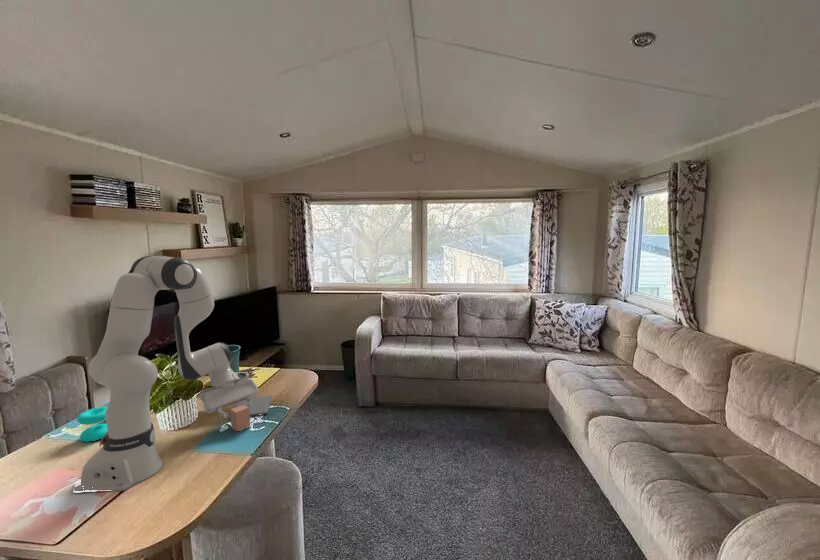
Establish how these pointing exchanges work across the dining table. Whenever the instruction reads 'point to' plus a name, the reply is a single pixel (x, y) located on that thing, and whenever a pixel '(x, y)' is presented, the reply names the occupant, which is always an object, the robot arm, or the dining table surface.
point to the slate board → (258, 405)
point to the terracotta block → (239, 417)
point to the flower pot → (235, 357)
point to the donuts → (92, 418)
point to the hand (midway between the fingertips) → (238, 413)
